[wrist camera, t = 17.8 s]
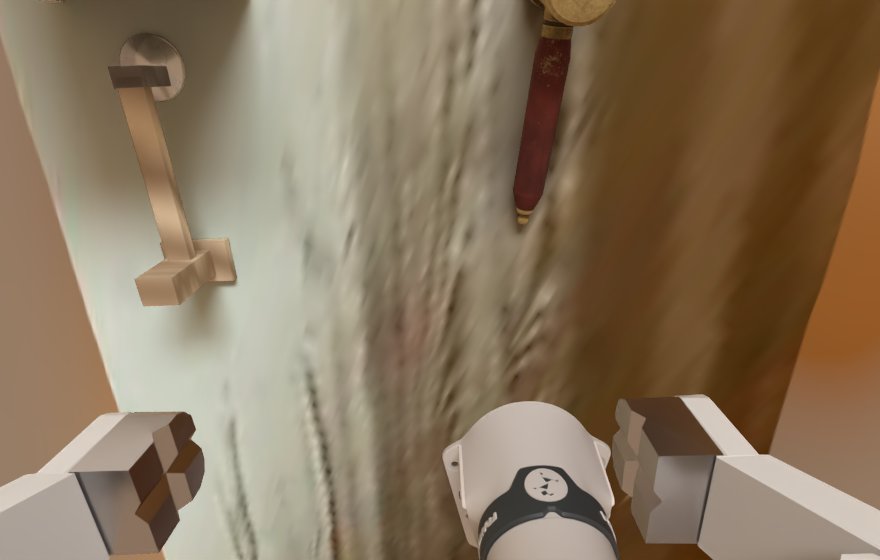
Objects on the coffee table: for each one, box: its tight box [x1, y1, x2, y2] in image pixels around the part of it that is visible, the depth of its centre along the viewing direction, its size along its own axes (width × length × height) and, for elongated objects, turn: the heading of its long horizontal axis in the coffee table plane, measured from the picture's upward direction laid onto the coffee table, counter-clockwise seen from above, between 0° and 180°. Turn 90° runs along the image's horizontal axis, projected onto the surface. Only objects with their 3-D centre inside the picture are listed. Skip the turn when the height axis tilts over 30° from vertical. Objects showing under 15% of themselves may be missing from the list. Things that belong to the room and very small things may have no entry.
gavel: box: [513, 0, 616, 225], centre depth 36 cm, size 21×5×10 cm, turn 176°
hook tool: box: [108, 65, 237, 306], centre depth 39 cm, size 19×6×8 cm, turn 2°
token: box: [120, 34, 186, 101], centre depth 39 cm, size 5×5×1 cm
